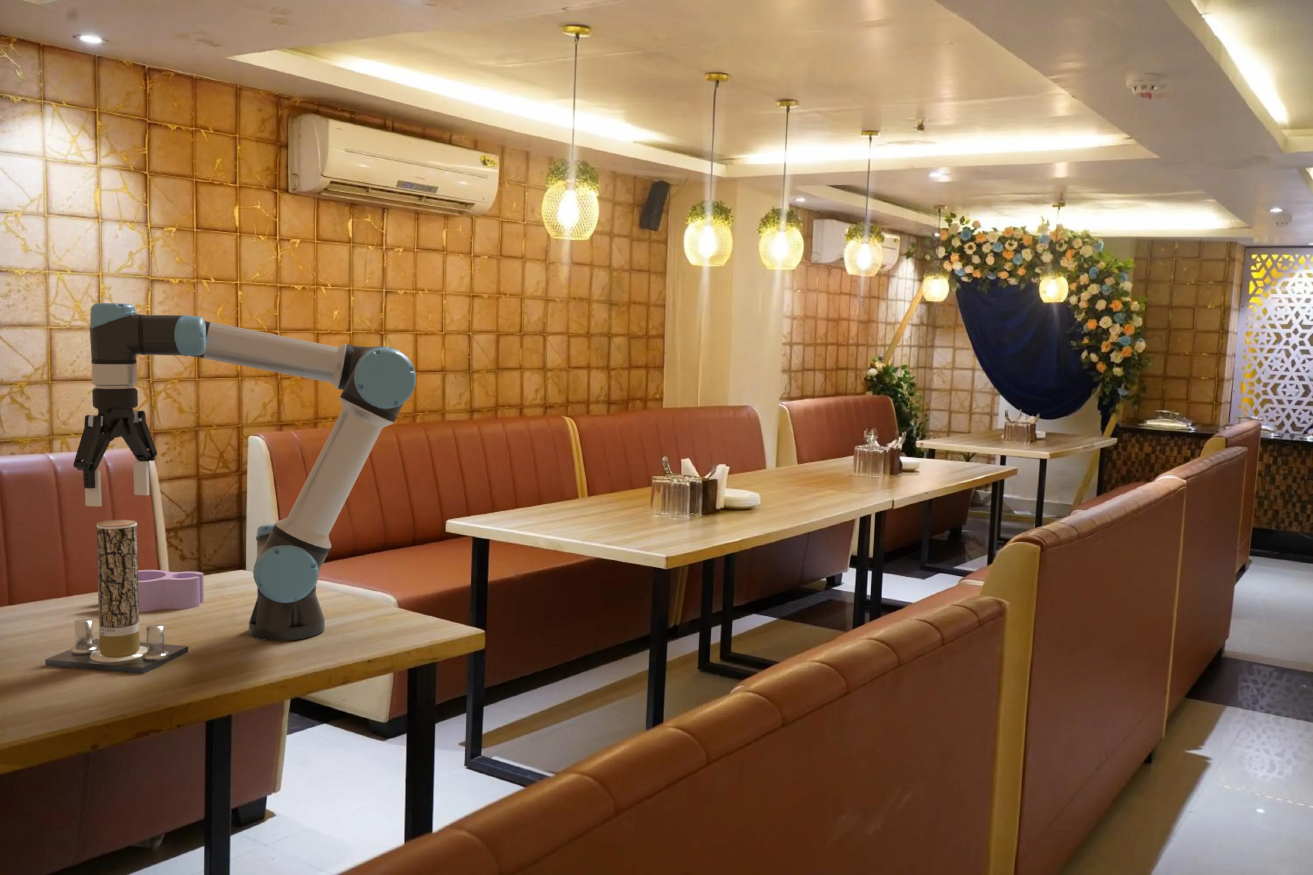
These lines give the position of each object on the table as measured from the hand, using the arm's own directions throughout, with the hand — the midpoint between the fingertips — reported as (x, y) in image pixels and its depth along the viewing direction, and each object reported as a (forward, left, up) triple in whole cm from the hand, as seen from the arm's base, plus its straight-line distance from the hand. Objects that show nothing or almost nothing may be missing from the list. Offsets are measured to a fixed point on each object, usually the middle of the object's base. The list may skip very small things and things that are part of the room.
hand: (118, 500), depth 199 cm
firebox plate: (+1, -1, -31) cm, 31 cm away
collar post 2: (-7, 0, -30) cm, 30 cm away
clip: (+19, -38, -31) cm, 53 cm away
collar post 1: (+8, 0, -30) cm, 31 cm away
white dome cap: (0, 0, -30) cm, 30 cm away
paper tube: (0, 0, -30) cm, 30 cm away
